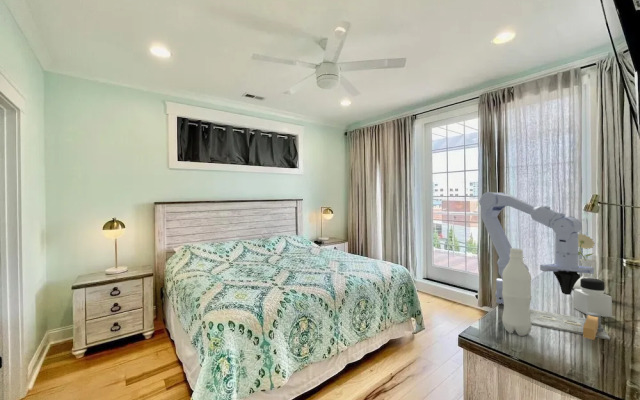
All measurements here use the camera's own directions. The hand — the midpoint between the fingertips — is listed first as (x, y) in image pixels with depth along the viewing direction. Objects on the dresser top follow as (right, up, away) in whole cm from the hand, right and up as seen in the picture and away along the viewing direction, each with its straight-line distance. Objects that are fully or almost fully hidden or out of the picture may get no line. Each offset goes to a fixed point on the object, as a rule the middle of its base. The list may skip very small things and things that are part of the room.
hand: (566, 293), depth 92 cm
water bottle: (-23, -9, -9) cm, 26 cm away
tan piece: (-2, -7, -11) cm, 13 cm away
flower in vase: (+36, -9, +30) cm, 48 cm away
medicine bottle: (+15, -9, +6) cm, 18 cm away
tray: (-3, -9, -3) cm, 10 cm away
